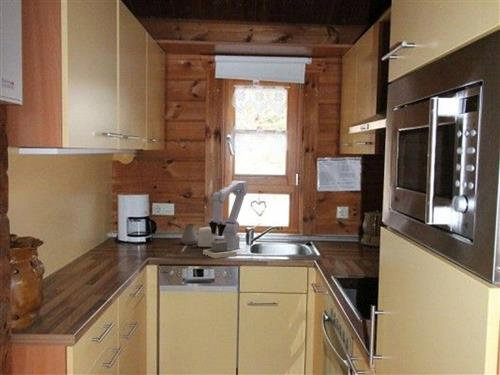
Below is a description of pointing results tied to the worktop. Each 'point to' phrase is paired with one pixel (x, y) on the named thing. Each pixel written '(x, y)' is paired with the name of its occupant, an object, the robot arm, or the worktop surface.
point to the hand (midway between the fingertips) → (217, 235)
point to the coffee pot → (188, 234)
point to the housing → (219, 246)
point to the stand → (220, 253)
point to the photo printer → (205, 237)
